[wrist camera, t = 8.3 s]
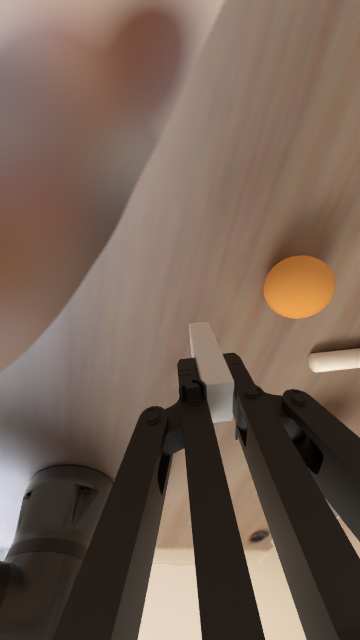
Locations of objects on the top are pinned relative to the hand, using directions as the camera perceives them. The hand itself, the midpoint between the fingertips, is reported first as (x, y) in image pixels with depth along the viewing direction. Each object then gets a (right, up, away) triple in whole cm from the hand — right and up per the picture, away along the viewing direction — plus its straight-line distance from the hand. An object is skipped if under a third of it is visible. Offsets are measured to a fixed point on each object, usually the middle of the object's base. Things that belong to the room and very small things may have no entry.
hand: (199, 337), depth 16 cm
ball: (+10, +5, +4) cm, 11 cm away
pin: (+16, -4, +11) cm, 20 cm away
